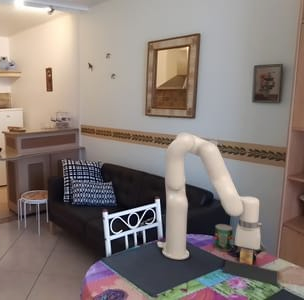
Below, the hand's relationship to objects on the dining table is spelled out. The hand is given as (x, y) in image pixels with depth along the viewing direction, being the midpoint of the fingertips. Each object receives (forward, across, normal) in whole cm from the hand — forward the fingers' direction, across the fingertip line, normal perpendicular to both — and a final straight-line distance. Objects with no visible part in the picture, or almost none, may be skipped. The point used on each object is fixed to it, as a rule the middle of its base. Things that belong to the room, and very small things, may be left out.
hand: (246, 260), depth 149 cm
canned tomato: (+1, +11, -10) cm, 15 cm away
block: (0, 0, 0) cm, 0 cm away
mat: (0, -2, +10) cm, 10 cm away
